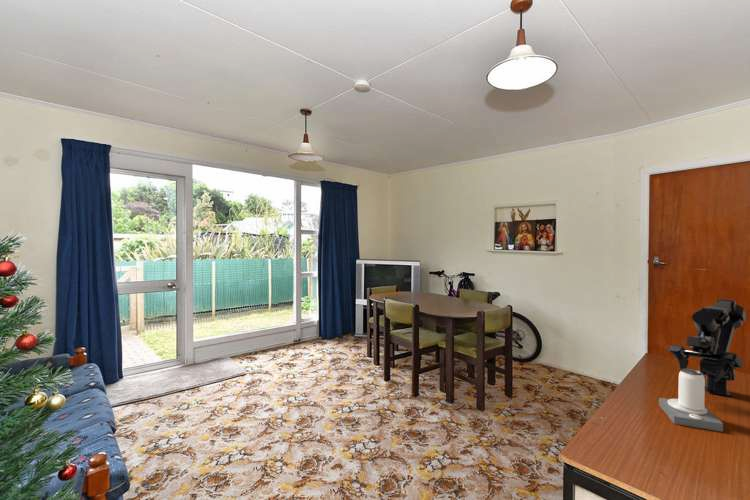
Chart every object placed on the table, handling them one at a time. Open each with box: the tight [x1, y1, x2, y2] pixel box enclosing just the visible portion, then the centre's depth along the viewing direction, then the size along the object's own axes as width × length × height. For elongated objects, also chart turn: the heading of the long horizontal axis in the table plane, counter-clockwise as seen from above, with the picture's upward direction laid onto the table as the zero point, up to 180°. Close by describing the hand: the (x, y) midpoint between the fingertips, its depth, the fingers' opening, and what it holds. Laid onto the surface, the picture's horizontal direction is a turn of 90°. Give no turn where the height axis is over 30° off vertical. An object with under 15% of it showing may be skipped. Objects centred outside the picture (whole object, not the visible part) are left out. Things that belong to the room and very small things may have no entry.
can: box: [677, 368, 706, 411], centre depth 116 cm, size 6×6×12 cm
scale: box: [658, 397, 724, 433], centre depth 115 cm, size 14×12×3 cm
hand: (698, 377), depth 121 cm, fingers open, 9 cm apart
